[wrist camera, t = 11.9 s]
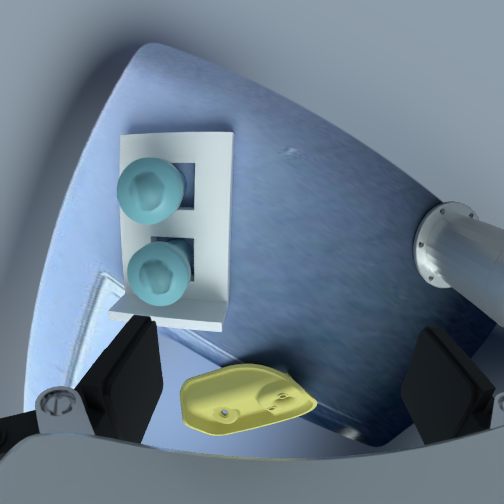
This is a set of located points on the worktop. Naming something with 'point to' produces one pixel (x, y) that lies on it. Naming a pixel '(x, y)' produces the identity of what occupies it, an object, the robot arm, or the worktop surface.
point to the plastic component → (242, 399)
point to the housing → (186, 228)
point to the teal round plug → (150, 190)
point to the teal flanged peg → (160, 271)
